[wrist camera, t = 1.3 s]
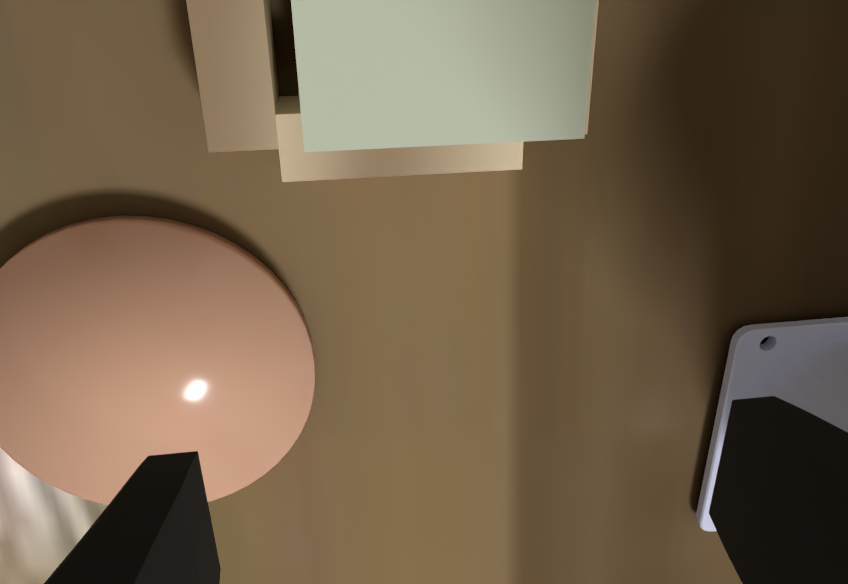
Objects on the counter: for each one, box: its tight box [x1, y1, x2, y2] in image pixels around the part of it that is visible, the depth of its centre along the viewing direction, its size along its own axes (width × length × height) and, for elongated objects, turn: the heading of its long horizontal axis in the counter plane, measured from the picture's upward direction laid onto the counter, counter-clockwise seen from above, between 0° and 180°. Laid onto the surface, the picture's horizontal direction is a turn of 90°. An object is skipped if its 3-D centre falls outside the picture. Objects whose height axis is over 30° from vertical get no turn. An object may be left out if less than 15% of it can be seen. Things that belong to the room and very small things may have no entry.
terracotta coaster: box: [0, 215, 315, 505], centre depth 20 cm, size 9×9×1 cm
